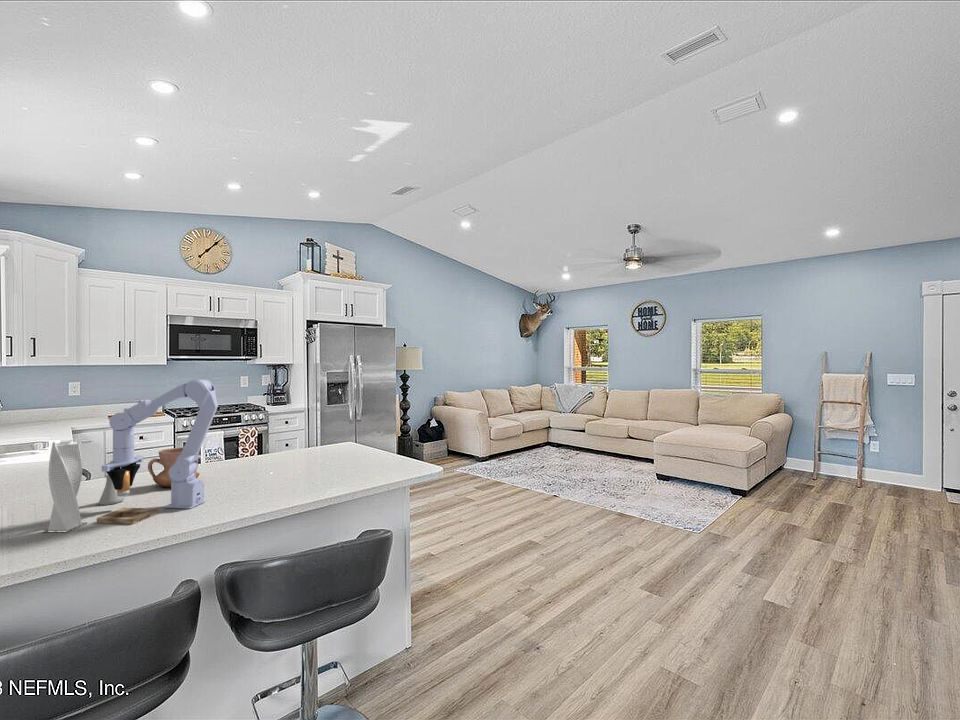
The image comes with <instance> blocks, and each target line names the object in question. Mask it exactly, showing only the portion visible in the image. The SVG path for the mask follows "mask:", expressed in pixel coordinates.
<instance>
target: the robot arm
mask: <svg viewBox="0 0 960 720" xmlns="http://www.w3.org/2000/svg"><path fill="white" fill-rule="evenodd" d="M187 397H188V398H189V399H191V400H193V402H194V403H195V404H196V405H197V407H198V408H199V411H198V412H197V415H196V418H195V419H194V422H193V425H192V427H191V429H190V431H189V434H188V437H187V439H186V441H185V444H184V446H183V447H184V448H183V451H182V452H181V454H180V455H179V457H178V458H177V460H176V462H175V463H174V464H173V465H172V466H171V467H170V469H169V477H170V478H171V487H170V495H171V496H170V504H167V505H165V506H164V508H166V509H170V508H171V509H192V508H195V507H196V506H199V505H201V504H204V503H205V502H206V500H205V484H204V481H203V480H201V479H198V478H197V479H196V476H195V474H194V473H195V472H196V471H198V468H199V467H198V466H199V464H198V461H199V455H200V451H201V449H202V446H203V443H204V441H205V439H206V437H207V434H208V432H209V430H210V428H211V425H212V422H213V419H214V418H215V415H216V412H217V410H218V407H219V405H218V401H217V400H218V399H217V394H216V387H215V385H214V384H213V383H212V382H211V381H210V380H209V379H206V378H200V379H194V380H189V381H188V382H186V383H183V384H179V385H177V386H176V387H173V388H172V389H170V390H169V391H167V392H165V393H163V394H161V395H160V396H158V397H155V398H154V399H153V400H152V399H151V400H150V399H140V400H139V401H137V404H135V405H132V406H131V407H125V408H124V409H123V411H122V412H116V413H114V414H113V415H112V416H111V417H110V419H109V421H108V423H109V426H110V427H111V429H112V460H110V462H108V463H106V464H103V465H101V472H105V473H106V474H108V475H109V477H110V478H111V480H112V482H113V485H114V488H115V490H121V489H122V488H123V478H124V474H125V472H126V470H130V487H132V486H133V484H134V480H135V478H136V475H137V473H138V471H139V469H140V468H141V463H143V462H144V455H137V456H135V426H136V425H137V424H139V423H141V422H143V421H145V420H146V419H149V418H151V417H152V416H154V415H156V414H157V413H158V410H159V408H161V407H163V406H165V405H167V404H169V403H171V402H174V401H175V400H178V399H180V398H187Z"/></svg>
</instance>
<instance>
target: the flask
mask: <svg viewBox="0 0 960 720" xmlns="http://www.w3.org/2000/svg"><path fill="white" fill-rule="evenodd" d="M105 478H106V479H105V485H104V488H103V491H102V494H101V496H100V498H99V501H98V503H97V506H98V505H99V506H100V505H101V506H108V505H115V504H118V503H121V502H123V501H124V499H125V498H124V496H120V497H119V496H117V490H115V488H114V485H113V482H112V480H111V478H110V477H109V475H108V474H107V473H106V474H105Z"/></svg>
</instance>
